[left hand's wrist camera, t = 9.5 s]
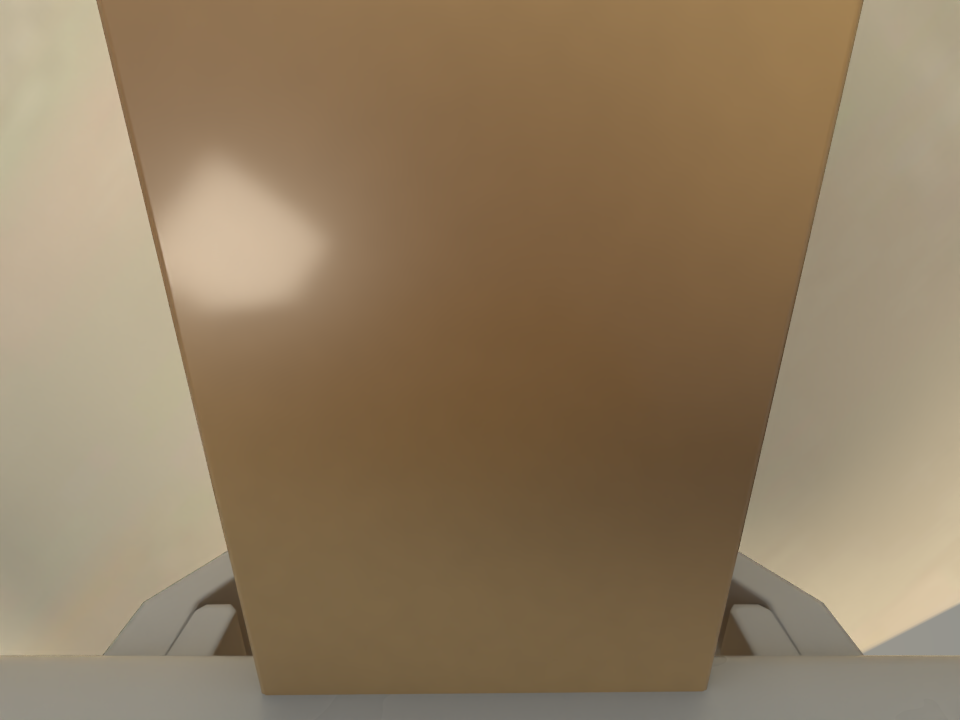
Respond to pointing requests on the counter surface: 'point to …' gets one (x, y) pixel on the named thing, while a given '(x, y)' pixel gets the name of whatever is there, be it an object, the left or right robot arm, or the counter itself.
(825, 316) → the counter surface
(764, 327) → the post
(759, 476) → the counter surface
